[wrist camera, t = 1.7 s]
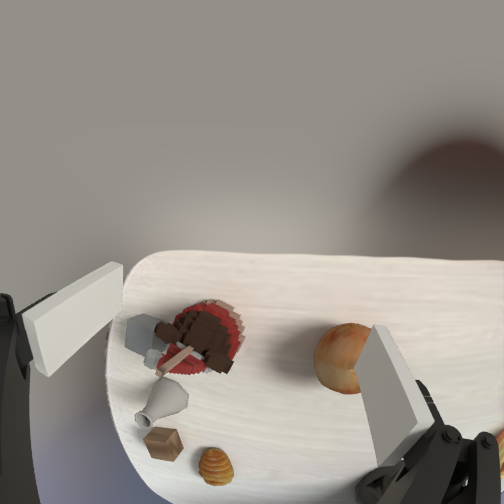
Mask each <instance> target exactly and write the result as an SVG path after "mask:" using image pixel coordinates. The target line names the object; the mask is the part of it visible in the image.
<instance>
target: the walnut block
mask: <svg viewBox="0 0 504 504" xmlns="http://www.w3.org/2000/svg"><path fill="white" fill-rule="evenodd" d="M143 440H144V442H145V444H146V447H147V449H148V451H149V453H150V455H151V457H152V458H154V459H160V460H166V461H172V462H174V461H175V459H176V458H177V457H178V455H179V454H180V453H181V451H182V450H183V448H184V447H183V445H182V442H181V440H180V437H179V435H178V432H177V429H169V428H160V427H154V429H153V430H152V431H151V432H150V433H149V434H148V435H147V436H146V437H145V438H144V439H143Z"/></svg>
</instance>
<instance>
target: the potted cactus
mask: <svg viewBox="0 0 504 504" xmlns="http://www.w3.org/2000/svg"><path fill="white" fill-rule="evenodd" d="M496 440H497V442H498V447H499V457H500V474H501V479H502V478H504V430H503V431H502V432H501V433H500V435H499V436H498V437H497V439H496Z"/></svg>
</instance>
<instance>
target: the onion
mask: <svg viewBox="0 0 504 504" xmlns="http://www.w3.org/2000/svg"><path fill="white" fill-rule="evenodd" d="M370 332H371V328H368V327H365V326H363V325H360V324H355V323H347V324H342V325H339V326H337V327H335V328H333V329H331V330H329V331H328V332H327V333H326V334H325V335H324V336H323V337H322V339H321V340H320V342H319V344H318V346H317V349H316V352H315V356H314V363H315V370H316V374H317V377H318V379H319V381H320V382H321V384H322V385H323V386H325V387H327V388H329V389H331V390H333V391H336V392H339V393H342V394H357V393H361V390H360V386H359V383H358V379H357V375H356V372H355V368H354V366H355V364H356V362H357V360H358V358H359V356H360V354H361V352H362V349H363V347H364V345H365V343H366V341H367V338H368V336H369V334H370Z"/></svg>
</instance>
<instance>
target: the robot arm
mask: <svg viewBox="0 0 504 504" xmlns="http://www.w3.org/2000/svg"><path fill="white" fill-rule="evenodd" d="M122 310H123V265H122V264H119V263H116V262H112V261H111V262H110V263H108V264H106V265H104V266H102V267H100V268H99V269H97V270H95V271H93V272H91V273H90V274H88V275H86V276H84V277H83V278H81V279H79V280H77V281H76V282H74V283H72V284H70V285H69V286H67V287H65V288H64V289H62V290H60V291H58V292H54V293H51V294H48V295H46V296H45V297H43V298H41V300H38V301H36V302H35V303H33V304H31V305H30V306H28V307H26V308H25V309H23V310H22V311H20V312H18V313H17V314H15V309H14V305H13V299H12V297H11V296H10V295H8V294H3V293H1V294H0V504H40V499H39V495H38V490H37V485H36V480H35V473H34V467H33V459H32V450H31V440H30V421H29V386H30V384H29V383H30V365H29V362H30V361H31V360H33V359H34V362H35V366H36V369H37V370H38V371H40V372H41V373H43V374H44V375H46V376H47V377H50V376H51V375H52V374H53V373H54V372H55V371H56V370H57V369H58V368H59V367H60V366H61V365H62V364H63V363H64V362H65V361H66V360H68V359H69V358H70V357H71V356H72V355H73V354H74V353H75V352H76V351H77V350H78V349H79V348H80V347H82V346H83V345H84V344H85V343H86V342H87V341H88V340H89V339H90V338H92V337H93V336H94V335H95V334H96V333H97V332H98V331H99V330H100V329H102V328H103V327H104V326H105V325H106V324H107V323H108V322H109V321H111V320H112V319H113V318H114V317H115V316H116V315H117V314H119V313H120V312H121V311H122ZM354 368H355V372H356V375H357V379H358V383H359V386H360V390H361V394H362V398H363V402H364V406H365V410H366V414H367V418H368V422H369V426H370V431H371V435H372V439H373V444H374V449H375V453H376V458H377V463H378V467H380V468H378V469H376V470H374V471H373V472H371V473H370V474H368V475H367V476H366V477H364V478H363V479H362V480H361V481H360V482H359V484H358V485H357V487H356V489H355V498H356V502H357V504H500V503H501V474H500V457H499V447H498V442H497V440H496V438H495V437H494V436H493V435H492V434H491V433H488V432H481V433H479V434H478V435H477V436H476V438H475V439H474V440H470V439H464V438H462V436H461V433H460V432H459V431H458V430H457V429H456V428H454V427H453V426H450V425H445V424H444V422H443V420H442V418H441V416H440V414H439V412H438V410H437V408H436V406H435V404H433V400H432V398H431V397H430V394H429V392H428V390H427V388H426V387H425V386H424V385H423V384H422V383H421V381H420V380H415V379H414V377H413V375H412V373H411V371H410V369H409V367H408V365H407V363H406V362H405V360H404V358H403V356H402V354H401V352H400V350H399V348H398V347H397V345H396V343H395V341H394V339H393V338H392V336H391V334H390V332H389V330H388V329H387V327H385V326H380V325H373V327H372V329H371V332H370V334H369V336H368V338H367V341H366V343H365V345H364V347H363V349H362V352H361V354H360V356H359V358H358V360H357V362H356V364H355V366H354ZM402 458H403V459H404V460H403V461H400V460H401V459H402ZM467 479H468V484H467V485H465V483H466V480H467Z"/></svg>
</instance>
